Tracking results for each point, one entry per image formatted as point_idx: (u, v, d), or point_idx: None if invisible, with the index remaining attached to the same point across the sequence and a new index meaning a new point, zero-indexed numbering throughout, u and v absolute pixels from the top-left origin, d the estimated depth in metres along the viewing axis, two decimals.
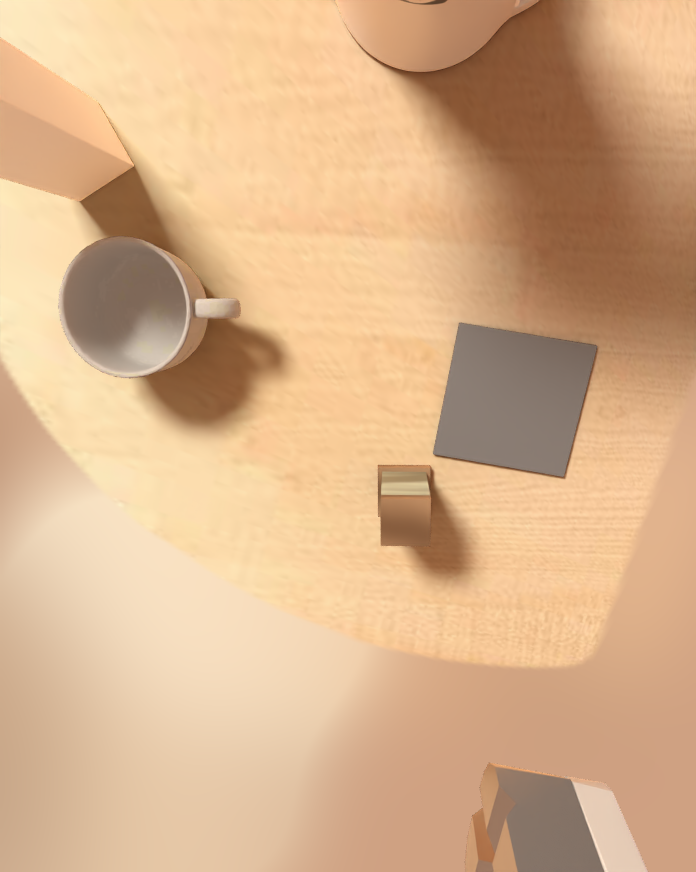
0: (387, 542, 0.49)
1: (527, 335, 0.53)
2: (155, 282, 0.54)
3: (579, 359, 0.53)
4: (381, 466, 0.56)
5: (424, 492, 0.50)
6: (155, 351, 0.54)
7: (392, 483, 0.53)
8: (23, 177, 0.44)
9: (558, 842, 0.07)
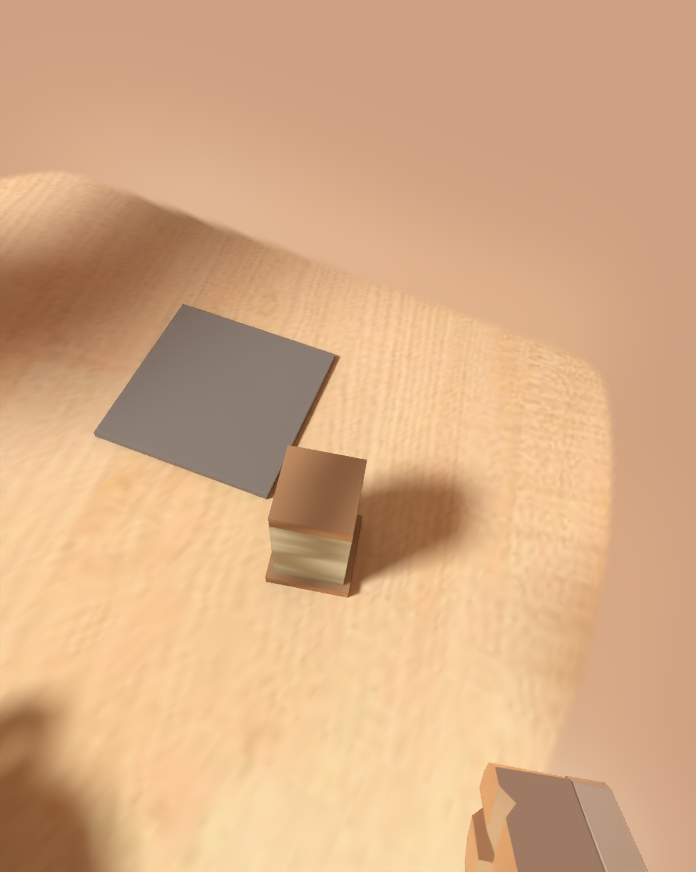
0: (350, 522, 0.28)
1: (142, 364, 0.42)
2: None
3: (192, 321, 0.44)
4: None
5: None
6: None
7: None
8: None
9: (558, 842, 0.07)
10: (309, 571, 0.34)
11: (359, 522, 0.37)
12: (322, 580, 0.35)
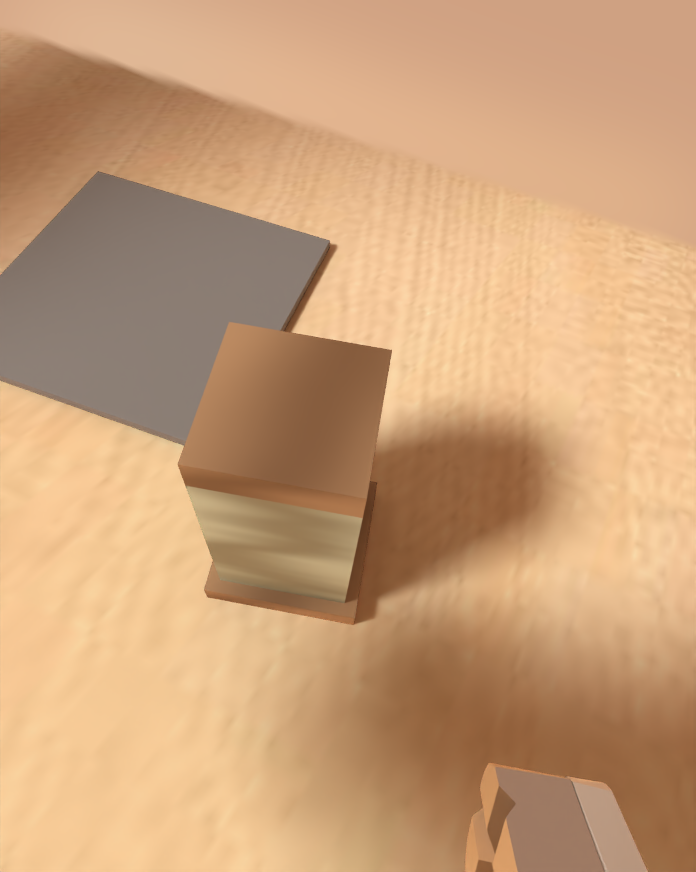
0: (359, 472, 0.13)
1: (24, 252, 0.26)
2: None
3: (110, 194, 0.29)
4: None
5: None
6: None
7: None
8: None
9: (558, 843, 0.07)
10: (282, 579, 0.18)
11: (372, 492, 0.21)
12: (307, 595, 0.19)
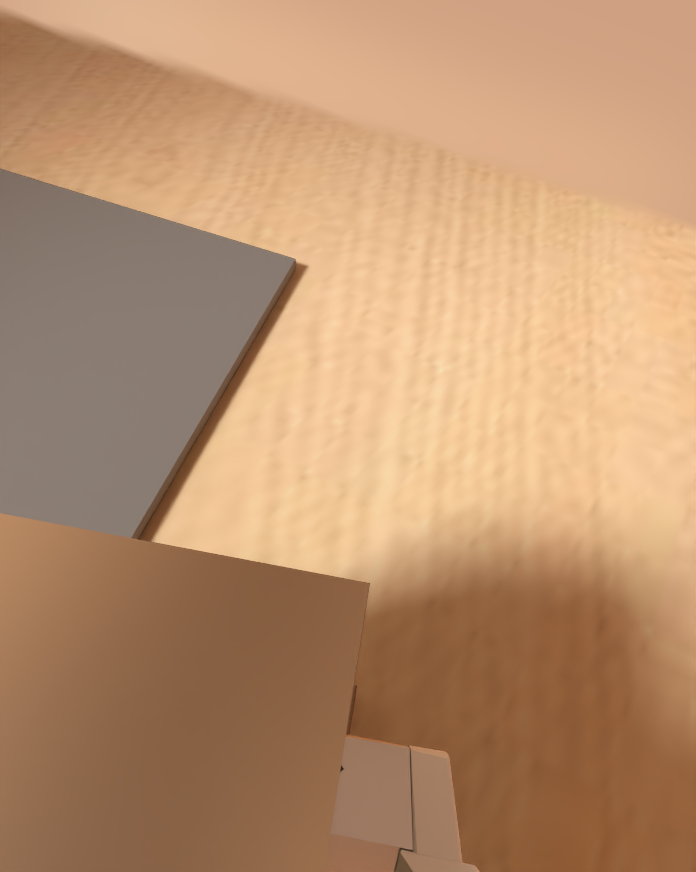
0: None
1: None
2: None
3: None
4: None
5: None
6: None
7: None
8: None
9: (374, 805, 0.07)
10: None
11: None
12: None
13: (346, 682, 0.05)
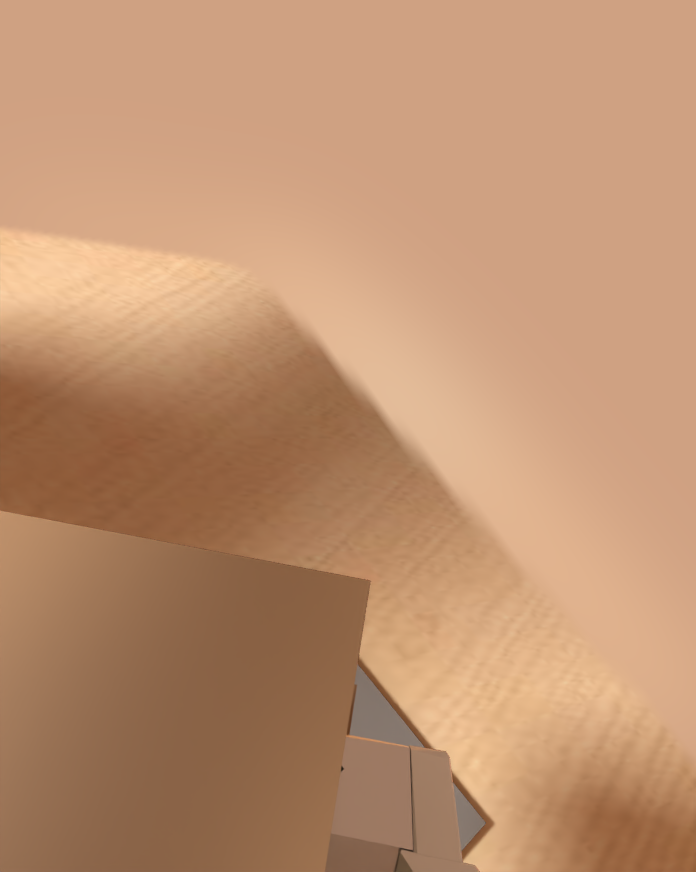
0: None
1: None
2: None
3: None
4: None
5: None
6: None
7: None
8: None
9: (373, 805, 0.07)
10: None
11: None
12: None
13: (347, 679, 0.05)
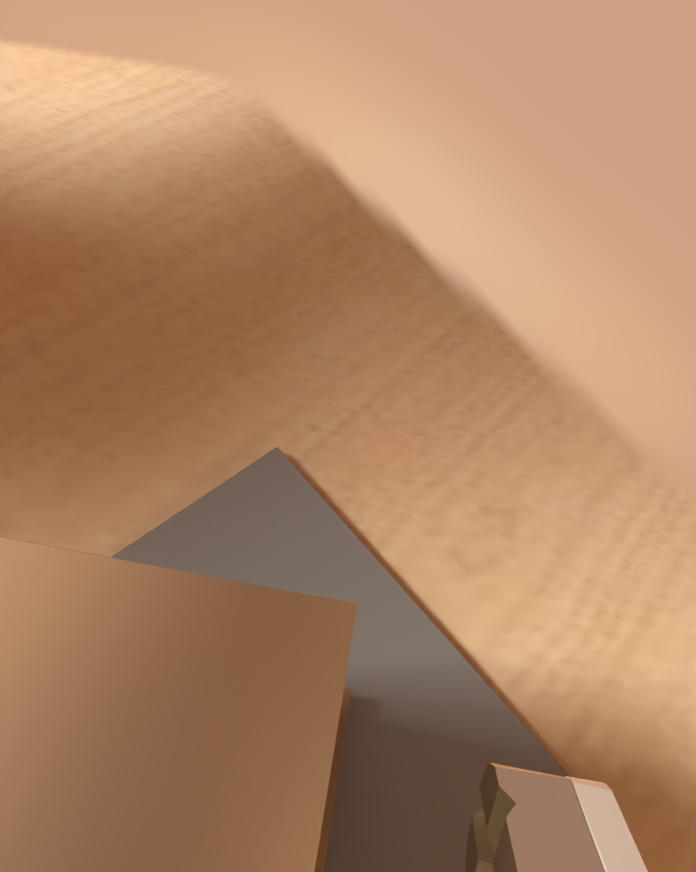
0: None
1: None
2: None
3: (272, 507, 0.16)
4: None
5: None
6: None
7: None
8: None
9: (558, 842, 0.07)
10: None
11: (343, 710, 0.13)
12: None
13: (336, 691, 0.06)
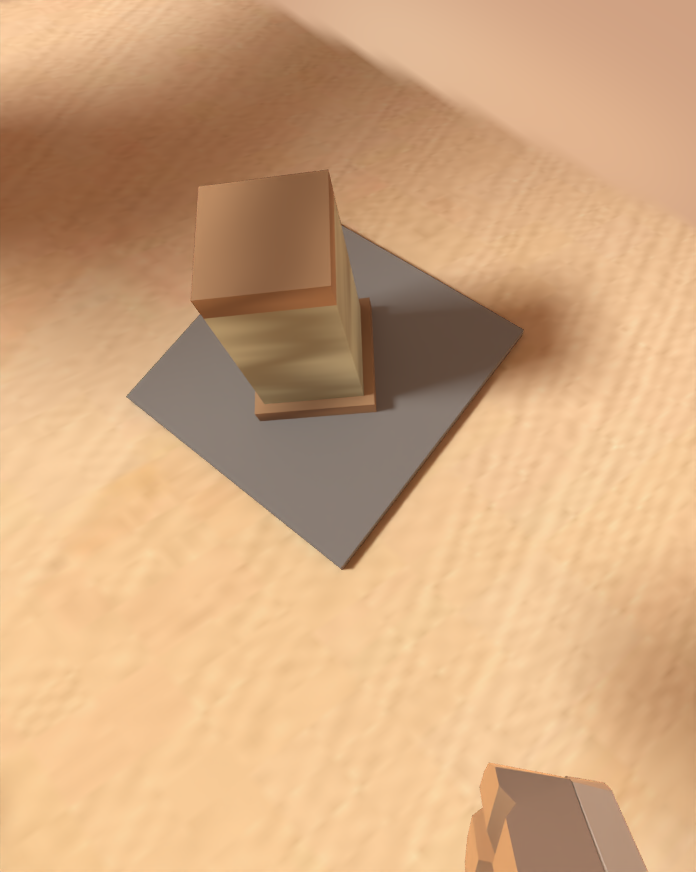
0: (322, 268, 0.17)
1: None
2: None
3: None
4: None
5: None
6: None
7: None
8: None
9: (558, 843, 0.07)
10: (308, 386, 0.23)
11: (367, 306, 0.25)
12: (333, 397, 0.24)
13: (326, 193, 0.18)
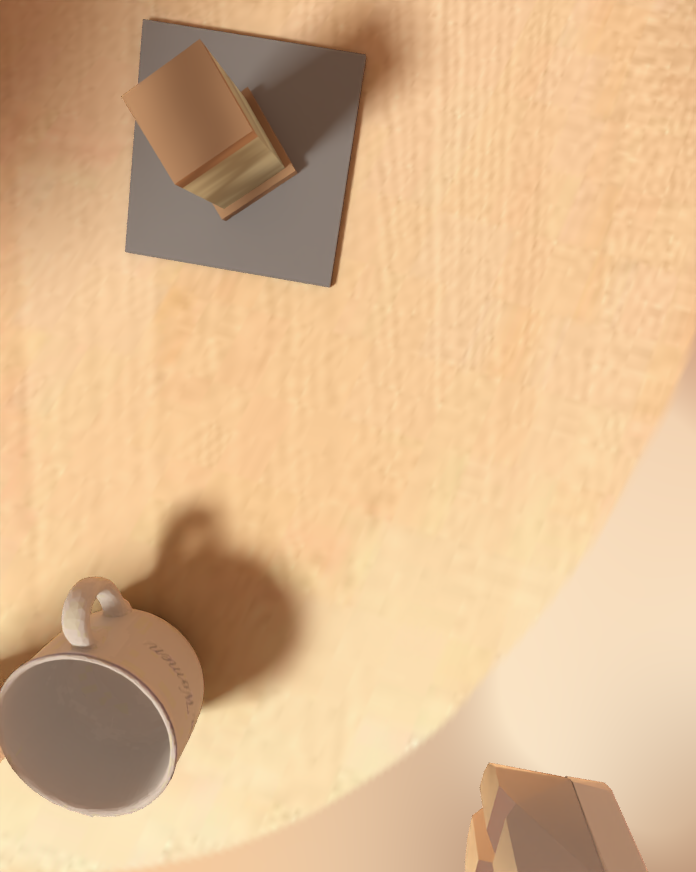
0: (240, 120, 0.25)
1: (135, 141, 0.34)
2: None
3: (166, 48, 0.33)
4: (220, 214, 0.34)
5: None
6: None
7: None
8: None
9: (558, 843, 0.07)
10: (249, 184, 0.32)
11: (250, 95, 0.32)
12: (266, 180, 0.33)
13: (210, 60, 0.25)
